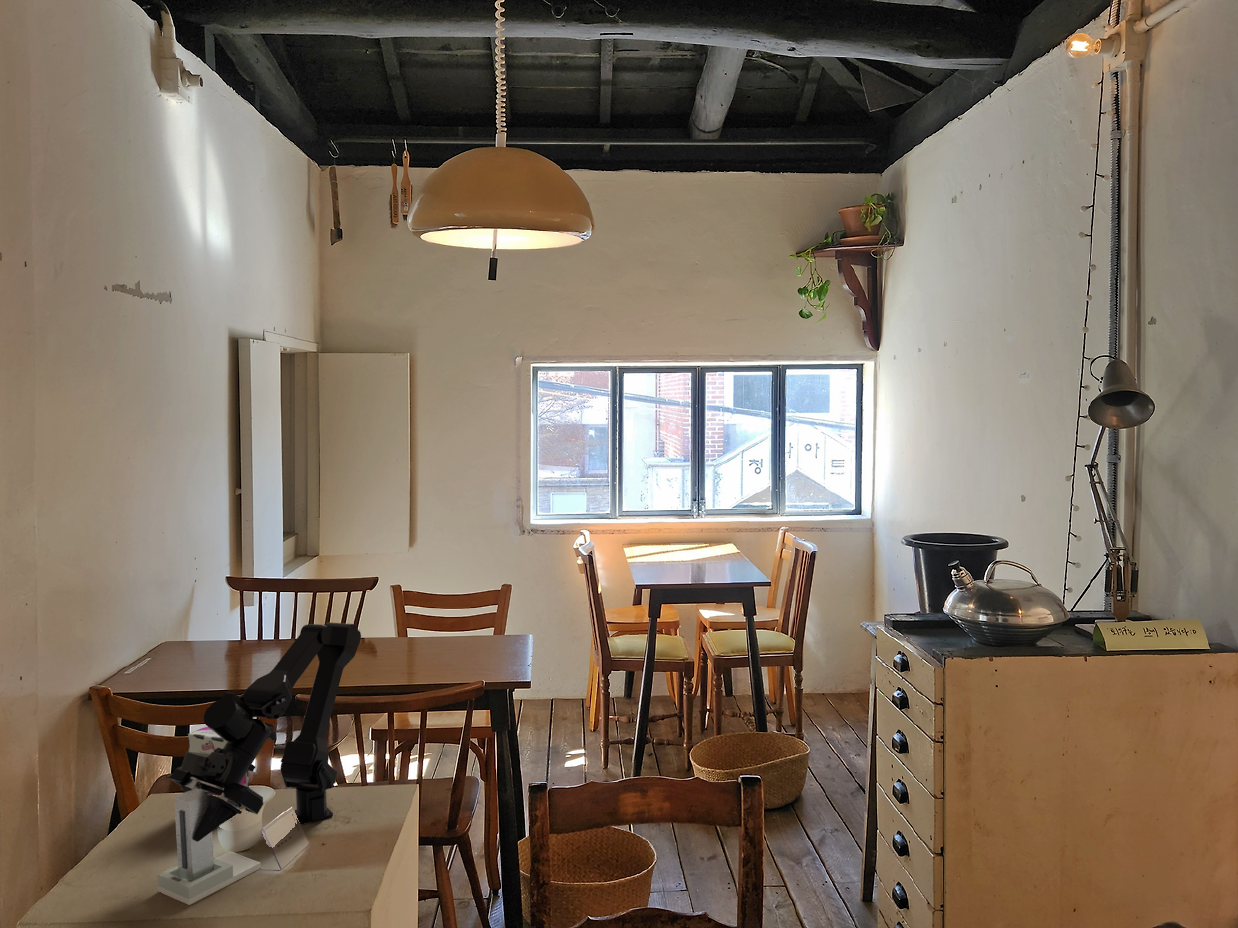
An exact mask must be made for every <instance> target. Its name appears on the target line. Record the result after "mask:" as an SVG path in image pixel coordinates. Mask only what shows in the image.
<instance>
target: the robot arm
mask: <svg viewBox="0 0 1238 928" xmlns="http://www.w3.org/2000/svg"><path fill="white" fill-rule="evenodd" d="M361 633H362V632H361V631H360V630H359V628H358V626H357V625H356V624H354V623H343V622H331V621H330V622H329V621H328V622H325V623H324V624H315V623H307V624H305V625H303V626H302V627H301V630H300V633H299V635H298V636H297V638H296V639H295V640H294V641H293V643H292V644H291V645H290V647H289V648H288V649H287V650H286V652H285V653H284V655H283V656H282V657H281V658H280V660H279V661H278V662H277V664H276V665H275V666H274V667H273V669H272V670H271V671H270V672H269V673H267V674H264V675H261V677H258V678H257V679H255V680H254V682H252V683H251V684H250V685H249V686H248V687H247V688H246V689H245V690H244V692H243V693H242V694H241V695H238V694H237V693H236V692H226V691H225V692H224V694H223V696H222V697H221V698H219V699H216V700H215V701H213V703H211V704H210V705H209V706H208V707H207V708H206V710H205V712H204V714H203V723H204V724H205V727H209V728H210V729H211V730H213V731H214V732H215V733H216V734H218V735H219V736H220V737H221V738H223V739H224V740H226V741H227V743H226V744H225V746H224V748H223V749H221V748H217V749H215V750H214V752H212V753H211V754H204V753H196V752H189V751H186V753H185V755H184V757H183V761H182V764H181V766H179V767H176V768H175V769H174V771H173V772H172V773H171V775H170V777H169V780H171V781H172V782H174V783H176V784H177V785H179V786H180V789H181V790H182V792H183V793H185V792H187V791H190V790H192V789H194V788H197V789H200V790H203V791H206V792H209V793H212V794H215V795H218V796H219V797H216V796H213V795H210V796H209V809H208V810H207V812H206V814H205V816H204V818H203V819H202V821H201V823H200V825H199V827H198V828H197V830H196V833H195V835H194V837H193V840H195V841H197V842H198V841H200V840H201V839H202V838H204V837H205V836H206V835H208V834H209V833H210V832H212V833H213V831H214V830H216V829H217V828H218V827H220V826H221V825H222V824H225V823H226V822H227V821H230V820H229V819H230V818H232V817H233V816H235V815H236V814H241V813H242V811H240V808H241V806H242V805H243V806H244V807H245V810H246V811H248V813H252V814H253V815H258V814H259V812H260V811H261V810H262V808H263V806H264V797H263V796H262V795H261V794H259V793H257V792H256V791H254V790H253V789H251V788H250V787H249V788H248V787H247V786H244V785H241V784H240V783H241V781H242V779H243V778H244V776H245V774H246V773H247V771H248V772H250V773H253V772H254V771H255V769H256V766H255V765H254V764H253V762H254V761H255V759H256V758H257V756H258V754H259V752H260V751H261V749H262V748H263V746H264V744H265V743H266V742H267V740H271V741H272V742H273V741H275V740H276V739H277V737H276V736H277V735H276V732H275V724H271V723H269V722H266V721H265V722H263V721H262V720H261V719H267V720H269V719H270V720H278V719H281V718H282V717H283V716H284V714H285V713H286V711H287V709H288V707H289V705H290V703H291V702H292V700H293V688H294V686H295V685H296V683H297V682H298V680H299V679H300V678H301V676H302V675H303V674H304V673H305V671H306V669H307V668H308V667H309V666H310V664H311V662H313V660H314V659H315V657H316V656H317V660H318V662H319V663H318V667H317V671H316V674H315V677H314V682H313V684H312V689H311V692H310V696H309V700H308V703H307V707H306V710H305V714H304V718H303V721H302V725H301V729H300V732H299V734H298V736H297V737H296V738H294V740H288V741H287V743H286V744H285V747H284V753H283V756H282V758H281V760H280V763H281V764H280V772H281V773H280V774H281V776H282V779H283V782H284V785H285V787H286V788H292V789H293V788H294V789H295V799H296V809H294V810H295V813H296V815H297V818H298V820H299V822H300V823H299V822H298V823H299V825H307V824H308V823H313V822H316V821H320V820H324V819H328V818H330V817H333V816H334V812H333V811H332V810H331V809H329V807H327V806H328V805H327V790H330V789H333V788H334V785H335V784H336V782H337V775H338V771H336V769H335V768H334V767H332V765H330V763H329V758H330V751H329V748H328V745H327V742H326V737H327V734H328V733H327V732H328V728H329V724H330V720H331V717H332V714H333V709H334V706H335V702H336V698H337V694H338V691H339V687H340V683H341V678H342V675H343V671H344V670H345V669H344V668H345V667H346V666H347V665H348V664H349V663H350V662H351V661H352V660H353V659H354V658H355V656H356V654H357V650H358V648H359V645H360V643H361V641H362V634H361ZM258 718H260V719H258Z"/></svg>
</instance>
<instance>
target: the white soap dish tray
mask: <svg viewBox="0 0 1238 928" xmlns="http://www.w3.org/2000/svg"><path fill="white" fill-rule="evenodd" d="M261 868H262V865H261V862H260V861H258V860H254V859H252V858H249V857H246V856H243V855H241V854H239V853H237V852H233V851H230V850H229V851H228V852H225V853H223V854H222V855H221V854H220V855H219V856H217V857H214V871H213V872H211V873H209V874H207V875H205V876H203V877H201V878H199V879H197V880H195V881H193V882H191V881H188V880H186V879H184V878H181V877H179V875H178V864H177V865H176V866H173V867H170V868H169V869H167V870H165V871H162V872H160V873H158V874H157V883H158V887H157V888H158V892H159V893H160V892H161V894H164V895H165V896H168V897H170V898H171V899H173V900H174V899H175V900H176V901H179V902H181V903H184V904H186V905H188V906H191V905H193V904H194V903H197V902H199V901H200V900H202V899H204V898H206V897H208V896H210V895H211V894H215V892H217V891H220V890H222V889H223V888H225V887H228V886H229V885H231V884H233V883H235V882H236V881H238V880H240V879H242V878H245V877H247V876H249V875H250V874H252V873H254V872H256V871H258V870H261Z"/></svg>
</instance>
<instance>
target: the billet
mask: <svg viewBox="0 0 1238 928" xmlns="http://www.w3.org/2000/svg"><path fill="white" fill-rule="evenodd" d="M209 796H210V793H209V792H206V791H203V790H200V789H197V788H194V789H192V790H190V791H187V792H185V793H184V792H183V793H180V794H178V795H176V796H174V797H173V799H174V802H173V803H174V817H175V832H176V833H175V834H176V835H175V836H176V837H175V838H176V854H177V865H178V875H179V877H181V878H184V879H186V880H188V881H191V882H193V881H195V880H197V879H199V878H201V877H203V876H205V875H207V874H209V873H211V872H213V871H214V858H215V857H214V841H213V838H214V837H213V831H212V832H210V833H209V834H208V835H206V836H205V837H204V838H202V839H201V840H200V841H198V842H197V841H195V840H193V837H194V835H195V833H196V830H197V828H198V827H199V825H200V823H201V821H202V819H203V818H204V816H205V814H206V812H207V810H208V809H209Z"/></svg>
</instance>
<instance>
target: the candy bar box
mask: <svg viewBox="0 0 1238 928" xmlns="http://www.w3.org/2000/svg"><path fill="white" fill-rule="evenodd" d="M187 735H188V736H187V739H188V752H196V753H204V754H211V753H212V752H214V750H215V749H217V748H221V749H223V748H224V746H225V744H226V743H227V741H226V740H224V739H223V738H221V737H220V736H219V735H218V734H216V733H215V732H214V731H213V730H211V729H210V728H209V727H208V726H205V727H201V728H200V729H197V730H195V731H192V732H190V733H188V734H187ZM240 784H241V785H244V786H247V787H248V788H250V779H249V771H247V773H246V774H245V776H244V778H243V779H242V781H241V783H240ZM210 795H215V794H212V793H210Z"/></svg>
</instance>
